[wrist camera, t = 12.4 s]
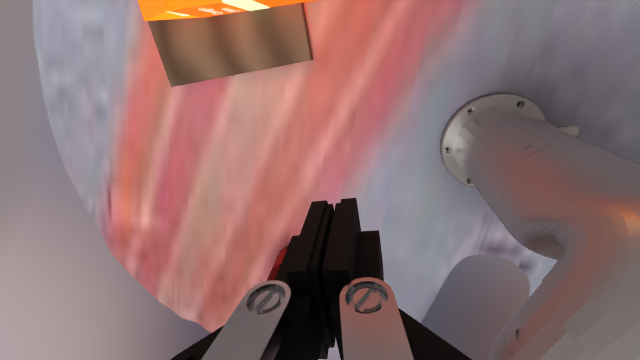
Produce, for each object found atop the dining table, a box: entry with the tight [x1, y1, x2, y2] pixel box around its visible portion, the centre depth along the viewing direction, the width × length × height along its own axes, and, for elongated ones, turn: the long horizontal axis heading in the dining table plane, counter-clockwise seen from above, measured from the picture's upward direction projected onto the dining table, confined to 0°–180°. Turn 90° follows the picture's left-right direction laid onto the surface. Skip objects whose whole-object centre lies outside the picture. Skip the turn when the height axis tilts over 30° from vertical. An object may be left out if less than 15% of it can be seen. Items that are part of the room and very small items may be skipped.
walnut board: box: [148, 2, 313, 87], centre depth 37 cm, size 20×16×2 cm
